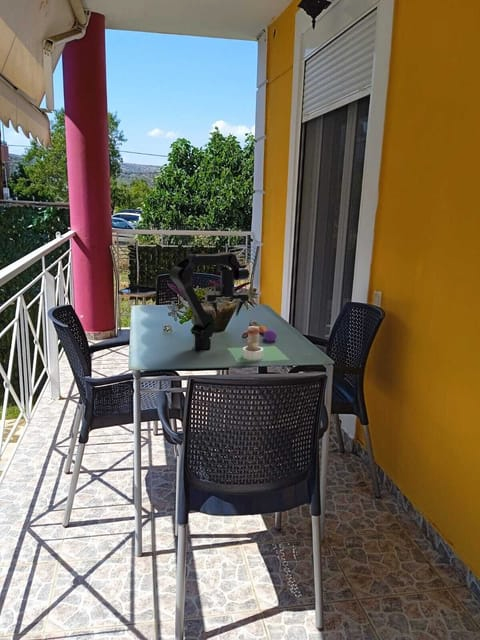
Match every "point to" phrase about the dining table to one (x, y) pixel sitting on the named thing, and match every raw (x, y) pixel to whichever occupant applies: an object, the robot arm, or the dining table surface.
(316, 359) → the dining table surface
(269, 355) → the putting mat
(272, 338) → the purple faceted ball
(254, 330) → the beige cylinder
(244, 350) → the cup
